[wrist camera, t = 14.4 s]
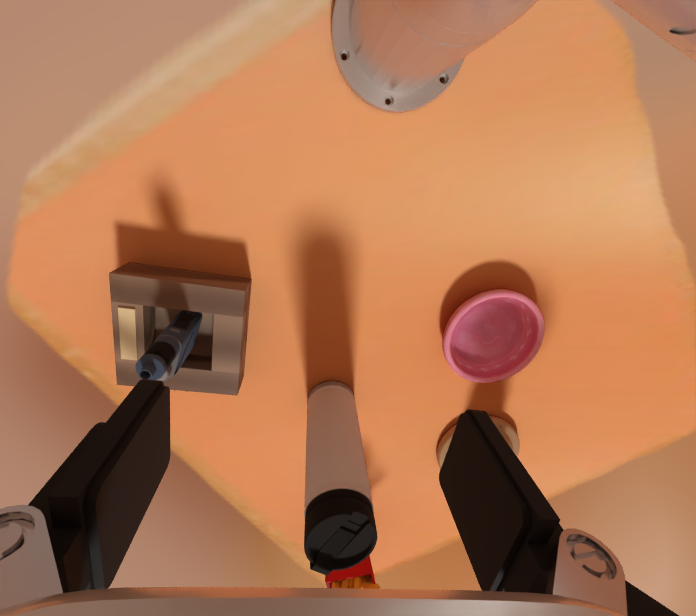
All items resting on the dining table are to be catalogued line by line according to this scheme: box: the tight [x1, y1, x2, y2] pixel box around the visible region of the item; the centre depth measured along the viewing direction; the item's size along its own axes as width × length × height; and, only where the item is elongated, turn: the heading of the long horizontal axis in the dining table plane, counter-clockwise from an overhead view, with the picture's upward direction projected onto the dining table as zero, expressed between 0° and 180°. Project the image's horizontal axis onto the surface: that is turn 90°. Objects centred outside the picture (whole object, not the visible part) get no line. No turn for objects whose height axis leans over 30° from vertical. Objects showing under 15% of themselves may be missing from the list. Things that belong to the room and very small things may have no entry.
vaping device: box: [135, 310, 202, 383], centre depth 35 cm, size 3×5×12 cm, turn 157°
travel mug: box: [304, 381, 377, 576], centre depth 38 cm, size 6×7×20 cm
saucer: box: [442, 289, 544, 383], centre depth 44 cm, size 12×12×3 cm
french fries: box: [325, 556, 380, 589], centre depth 50 cm, size 9×8×15 cm
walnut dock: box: [109, 263, 251, 395], centre depth 40 cm, size 13×13×4 cm
